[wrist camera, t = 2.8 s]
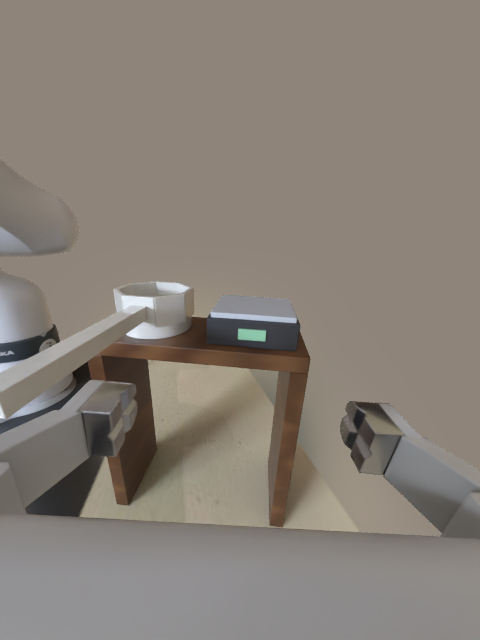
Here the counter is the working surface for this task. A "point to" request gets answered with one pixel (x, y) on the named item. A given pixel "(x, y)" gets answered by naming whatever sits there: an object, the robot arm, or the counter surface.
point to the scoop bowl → (100, 339)
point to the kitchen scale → (253, 323)
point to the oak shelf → (191, 347)
